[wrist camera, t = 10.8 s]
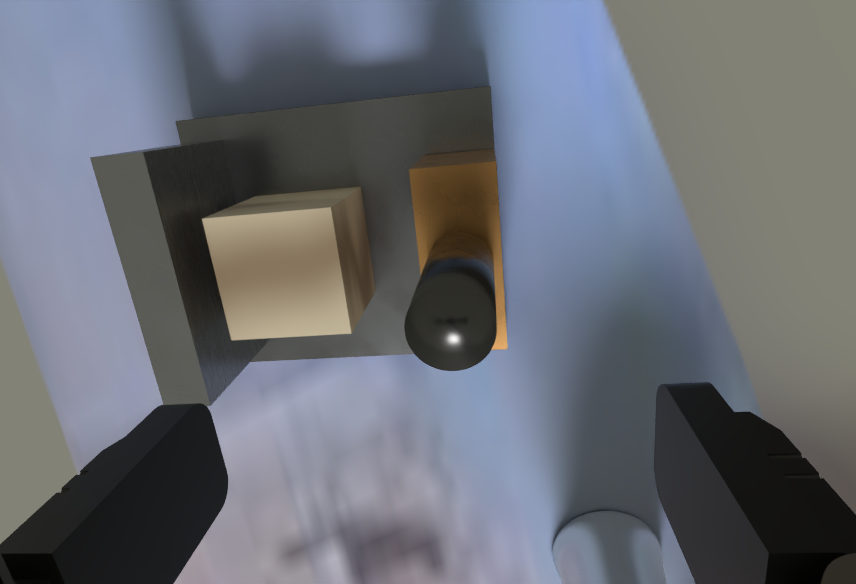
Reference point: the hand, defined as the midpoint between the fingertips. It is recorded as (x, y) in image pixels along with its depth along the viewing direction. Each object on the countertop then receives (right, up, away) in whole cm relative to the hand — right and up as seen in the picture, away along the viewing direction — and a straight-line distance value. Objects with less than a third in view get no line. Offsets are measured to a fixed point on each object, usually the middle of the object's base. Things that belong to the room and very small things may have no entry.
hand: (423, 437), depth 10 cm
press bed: (-3, +6, +17) cm, 18 cm away
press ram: (+2, +5, +15) cm, 16 cm away
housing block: (-5, +5, +16) cm, 17 cm away
